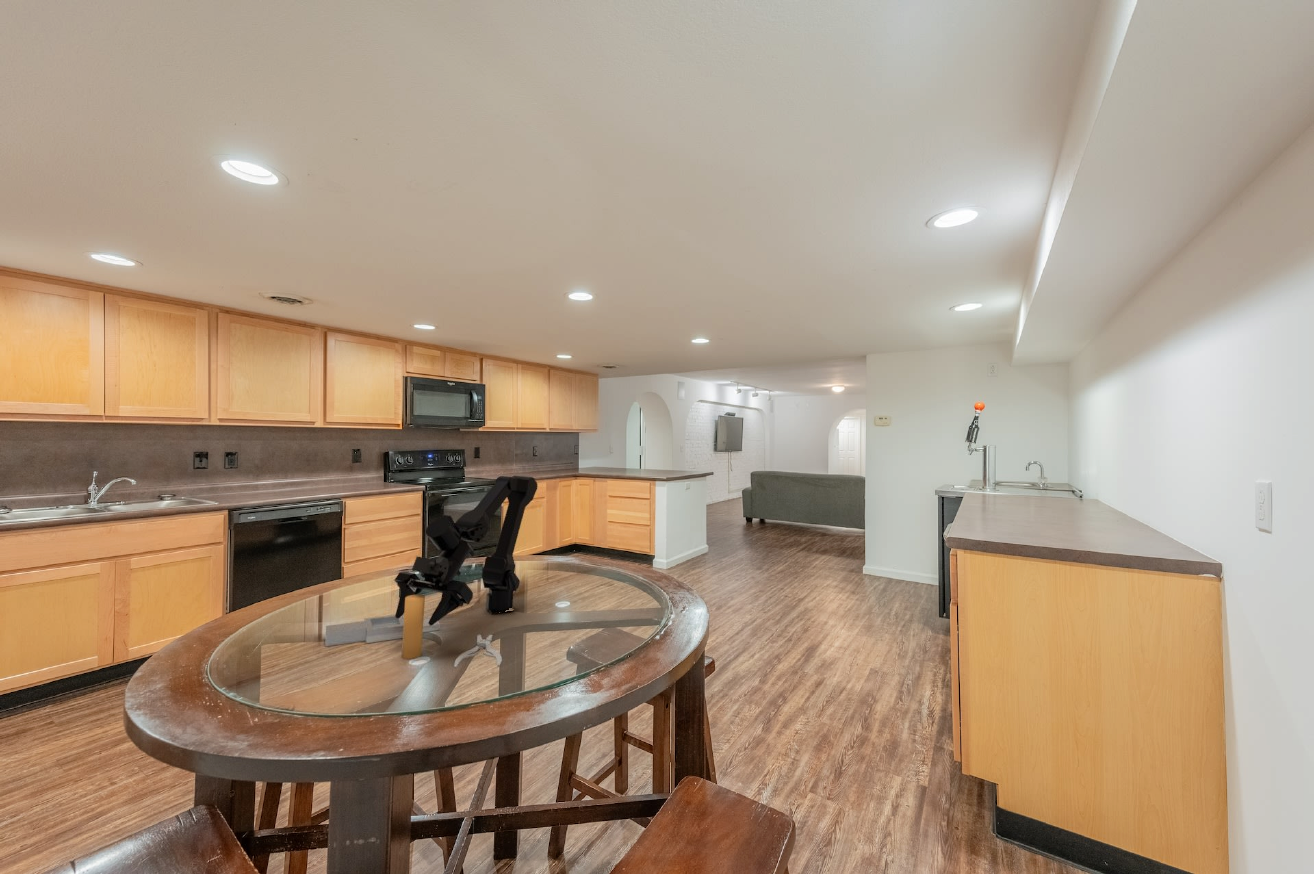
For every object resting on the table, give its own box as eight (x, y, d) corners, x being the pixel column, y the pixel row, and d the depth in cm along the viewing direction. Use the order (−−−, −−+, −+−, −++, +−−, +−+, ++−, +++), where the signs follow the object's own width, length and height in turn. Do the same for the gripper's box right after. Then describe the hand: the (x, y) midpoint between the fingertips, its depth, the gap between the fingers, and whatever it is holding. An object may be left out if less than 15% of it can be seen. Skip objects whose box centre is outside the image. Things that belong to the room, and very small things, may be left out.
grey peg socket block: (434, 621, 136) (435, 609, 136) (441, 632, 129) (441, 620, 129) (325, 635, 122) (325, 623, 122) (325, 649, 115) (326, 636, 115)
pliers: (453, 662, 111) (463, 634, 125) (452, 669, 111) (463, 641, 125) (500, 660, 113) (506, 633, 127) (500, 667, 113) (505, 640, 127)
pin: (419, 650, 118) (423, 593, 118) (422, 656, 115) (426, 598, 115) (400, 653, 116) (404, 595, 116) (402, 660, 112) (406, 601, 112)
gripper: (403, 537, 123) (360, 596, 112) (468, 547, 117) (430, 610, 107) (425, 563, 131) (387, 620, 120) (487, 574, 125) (453, 634, 114)
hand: (413, 621), depth 115 cm, fingers open, 9 cm apart
